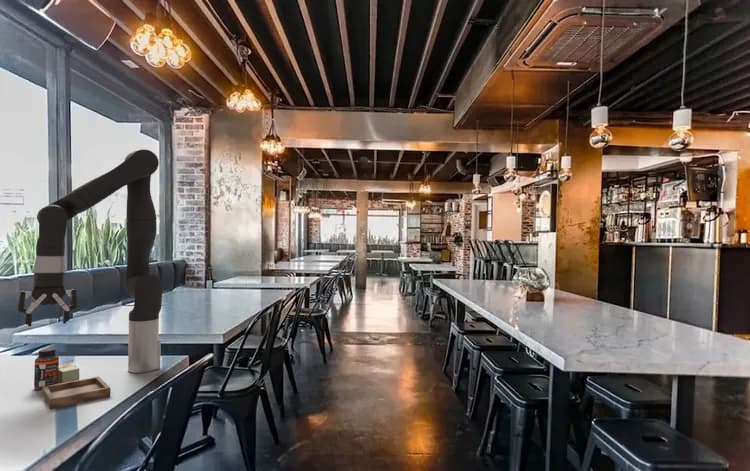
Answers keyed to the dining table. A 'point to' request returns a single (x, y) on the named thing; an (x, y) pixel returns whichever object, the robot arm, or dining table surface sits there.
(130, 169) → the robot arm
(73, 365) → the beech block
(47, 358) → the supplement bottle
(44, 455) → the dining table surface
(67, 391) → the walnut tray
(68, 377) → the olive block
